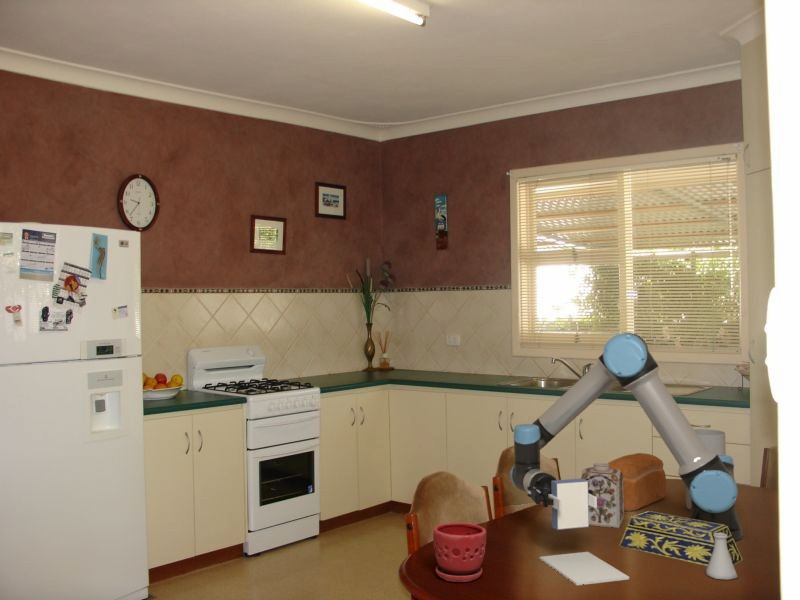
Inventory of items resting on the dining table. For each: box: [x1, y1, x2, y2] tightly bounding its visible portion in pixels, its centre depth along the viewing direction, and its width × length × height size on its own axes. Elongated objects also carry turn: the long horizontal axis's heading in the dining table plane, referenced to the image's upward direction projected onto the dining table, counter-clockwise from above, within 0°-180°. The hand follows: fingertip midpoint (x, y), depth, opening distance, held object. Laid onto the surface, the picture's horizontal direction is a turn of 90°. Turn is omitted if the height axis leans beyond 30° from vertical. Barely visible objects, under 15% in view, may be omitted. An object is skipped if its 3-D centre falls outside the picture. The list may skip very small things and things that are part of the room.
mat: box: [539, 551, 630, 586], centre depth 197 cm, size 21×14×1 cm, turn 14°
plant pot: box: [432, 522, 487, 583], centre depth 194 cm, size 13×13×12 cm
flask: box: [705, 533, 739, 581], centre depth 190 cm, size 7×7×10 cm
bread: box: [607, 452, 667, 512], centre depth 264 cm, size 14×26×16 cm, turn 137°
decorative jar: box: [580, 462, 625, 529], centre depth 240 cm, size 12×12×18 cm
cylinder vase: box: [684, 428, 727, 511], centre depth 253 cm, size 12×12×25 cm
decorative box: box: [619, 510, 743, 567], centre depth 209 cm, size 11×30×9 cm, turn 43°
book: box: [551, 478, 590, 531], centre depth 203 cm, size 3×9×12 cm, turn 104°
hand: (578, 503), depth 198 cm, fingers closed on book, 9 cm apart
